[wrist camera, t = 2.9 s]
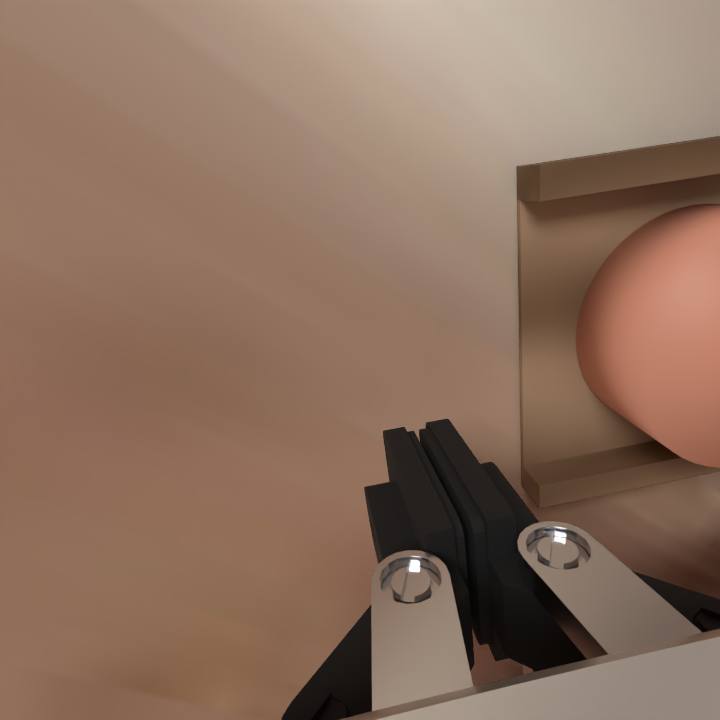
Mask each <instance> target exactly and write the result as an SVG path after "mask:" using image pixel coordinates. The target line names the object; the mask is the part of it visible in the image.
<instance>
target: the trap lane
mask: <svg viewBox="0 0 720 720" xmlns="http://www.w3.org/2000/svg"><path fill="white" fill-rule="evenodd" d="M706 203H707V204H720V136H717V137H710V138H704V139H697V140H690V141H684V142H677V143H670V144H664V145H657V146H650V147H643V148H637V149H630V150H623V151H617V152H610V153H603V154H597V155H590V156H583V157H576V158H570V159H563V160H556V161H550V162H543V163H536V164H530V165H523V166H517V217H518V282H519V348H520V413H521V478H522V486H523V487H524V489H525V490H526V491H527V493H528V494H529V495H530V497H531V498H532V499H533V500H534V502H535V503H536V504H537V506H538V507H539V508H544V507H549V506H554V505H558V504H563V503H568V502H573V501H578V500H583V499H588V498H592V497H597V496H602V495H607V494H612V493H617V492H622V491H626V490H631V489H636V488H641V487H646V486H651V485H655V484H660V483H665V482H670V481H675V480H680V479H685V478H689V477H694V476H699V475H704V474H709V473H714V472H719V471H720V468H718V467H708V466H704V465H700V464H696V463H693V462H691V461H688V460H686V459H683V458H682V457H680V456H679V455H677V454H675V453H674V452H672V451H671V450H669V449H668V448H667V447H665V446H664V445H662V444H661V443H659V442H658V441H657V440H655V439H654V438H652V437H651V436H649V435H648V434H647V433H645V432H644V431H642V430H641V429H639V428H638V427H637V426H635V425H634V424H632V423H631V422H629V421H628V420H627V419H625V418H624V417H622V416H621V415H619V414H618V413H617V412H615V411H614V410H612V409H611V408H609V407H608V406H607V405H605V404H604V403H603V402H602V401H601V400H599V399H598V398H597V397H596V396H595V395H594V393H593V392H592V391H591V389H590V388H589V387H588V385H587V383H586V381H585V380H584V378H583V375H582V373H581V370H580V367H579V363H578V358H577V353H576V329H577V322H578V317H579V312H580V309H581V306H582V303H583V300H584V297H585V295H586V292H587V290H588V288H589V286H590V284H591V282H592V280H593V278H594V277H595V275H596V273H597V272H598V270H599V268H600V267H601V266H602V264H603V263H604V262H605V260H606V259H607V258H608V256H609V255H610V254H611V253H612V252H613V251H614V250H615V249H616V248H617V246H618V245H619V244H620V243H621V242H622V241H623V240H625V239H626V238H627V237H628V236H629V235H630V234H632V233H633V232H634V231H635V230H637V229H638V228H640V227H641V226H643V225H644V224H645V223H647V222H649V221H650V220H652V219H654V218H656V217H658V216H660V215H662V214H664V213H667V212H669V211H672V210H674V209H677V208H681V207H685V206H689V205H696V204H706Z"/></svg>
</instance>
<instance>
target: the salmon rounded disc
mask: <svg viewBox="0 0 720 720" xmlns="http://www.w3.org/2000/svg"><path fill="white" fill-rule="evenodd" d="M576 353H577V358H578V363H579V367H580V370H581V373H582V375H583V378H584V380H585V381H586V383H587V385H588V387H589V388H590V389H591V391H592V392H593V393H594V395H595V396H596V397H597V398H598V399H599V400H601V401H602V402H603V403H604V404H605V405H607V406H608V407H609V408H611V409H612V410H614V411H615V412H617V413H618V414H619V415H621V416H622V417H624V418H625V419H627V420H628V421H629V422H631V423H632V424H634V425H635V426H637V427H638V428H639V429H641V430H642V431H644V432H645V433H647V434H648V435H649V436H651V437H652V438H654V439H655V440H657V441H658V442H659V443H661V444H662V445H664V446H665V447H667V448H668V449H669V450H671V451H672V452H674V453H675V454H677V455H679V456H680V457H682V458H683V459H686V460H688V461H691V462H693V463H696V464H700V465H704V466H708V467H718V468H720V204H707V203H706V204H696V205H689V206H685V207H681V208H677V209H674V210H672V211H669V212H667V213H664V214H662V215H660V216H658V217H656V218H654V219H652V220H650V221H649V222H647V223H645V224H644V225H643V226H641V227H640V228H638V229H637V230H635V231H634V232H633V233H632V234H630V235H629V236H628V237H627V238H626V239H625V240H623V241H622V242H621V243H620V244H619V245H618V246H617V248H616V249H615V250H614V251H613V252H612V253H611V254H610V255H609V256H608V258H607V259H606V260H605V262H604V263H603V264H602V266H601V267H600V268H599V270H598V272H597V273H596V275H595V277H594V278H593V280H592V282H591V284H590V286H589V288H588V290H587V292H586V295H585V297H584V300H583V303H582V306H581V309H580V312H579V317H578V322H577V329H576Z"/></svg>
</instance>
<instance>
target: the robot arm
mask: <svg viewBox="0 0 720 720" xmlns="http://www.w3.org/2000/svg"><path fill="white" fill-rule="evenodd" d="M419 437H420V442H419V440H418V438H417V436H416V434H415V432H414V431H410V432H407V431H406V429H405V427H401V428H396V429H390V430H385V431H383V438H384V445H385V452H386V460H387V467H388V474H389V481H390V482H387V483H382V484H377V485H372V486H367V487H364V489H365V497H366V503H367V509H368V515H369V521H370V527H371V532H372V537H373V542H374V546H375V551H376V555H377V559H378V566H377V567H376V569H375V570H374V572H373V575H372V581H371V606H370V607H369V608H368V609H367V610H366V612H365V613H364V614H363V615H362V617H361V618H360V619H359V620H358V621H357V623H356V624H355V625H354V626H353V628H352V629H351V630H350V631H349V632H348V634H347V635H346V636H345V637H344V639H343V640H342V641H341V642H340V643H339V645H338V646H337V647H336V648H335V650H334V651H333V652H332V653H331V654H330V656H329V657H328V658H327V659H326V661H325V662H324V663H323V664H322V665H321V667H320V668H319V669H318V670H317V672H316V673H315V674H314V675H313V676H312V678H311V679H310V680H309V681H308V683H307V684H306V685H305V686H304V687H303V689H302V690H301V691H300V692H299V694H298V695H297V696H296V697H295V698H294V700H293V701H292V702H291V704H290V705H289V707H288V708H287V710H286V712H285V713H284V715H283V717H282V720H720V600H719V599H716V598H713V597H710V596H707V595H704V594H701V593H698V592H694V591H691V590H688V589H685V588H682V587H679V586H676V585H673V584H670V583H667V582H664V581H661V580H658V579H655V578H652V577H648V576H645V575H642V574H639V573H636V572H633V571H631V570H630V569H629V568H628V567H626V566H625V565H624V564H623V563H622V562H621V561H619V560H618V559H617V558H616V557H615V556H614V555H613V554H611V553H610V552H609V551H608V550H607V549H606V548H605V547H603V546H602V545H601V544H600V543H599V542H598V541H596V540H595V539H594V538H593V537H592V536H591V535H589V534H588V533H586V532H585V531H583V530H582V529H580V528H578V527H575V526H573V525H571V524H567V523H562V522H557V521H544V522H538V520H537V519H536V518H535V516H534V515H533V514H532V512H531V511H530V510H529V508H528V507H527V506H526V504H525V503H524V502H523V501H522V499H521V498H520V497H519V495H518V494H517V493H516V491H515V490H514V489H513V487H512V486H511V485H510V483H509V482H508V481H507V479H506V478H505V477H504V476H503V474H502V473H501V472H500V470H499V469H498V468H497V466H496V465H495V464H494V463H492V462H488V463H483V464H480V463H479V462H478V460H477V459H476V457H475V456H474V455H473V453H472V452H471V450H470V449H469V447H468V446H467V445H466V443H465V442H464V440H463V439H462V437H461V436H460V435H459V433H458V432H457V430H456V429H455V428H454V426H453V425H452V423H451V422H450V420H449V419H443V420H438V421H432V422H427V423H426V429H420V430H419ZM472 629H473V631H474V634H475V636H476V638H477V641H478V643H479V644H480V645H484V644H488V645H489V647H490V650H491V652H492V654H493V656H494V659H495V661H498V660H503V659H507V658H510V659H512V660H514V661H516V662H519V663H521V664H522V668H523V674H524V675H520V676H515V677H511V678H507V679H503V680H499V681H494V682H490V683H486V684H482V685H478V686H474V687H473V683H472V678H471V673H470V671H471V669H472V667H473V666H474V653H473V636H472Z"/></svg>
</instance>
